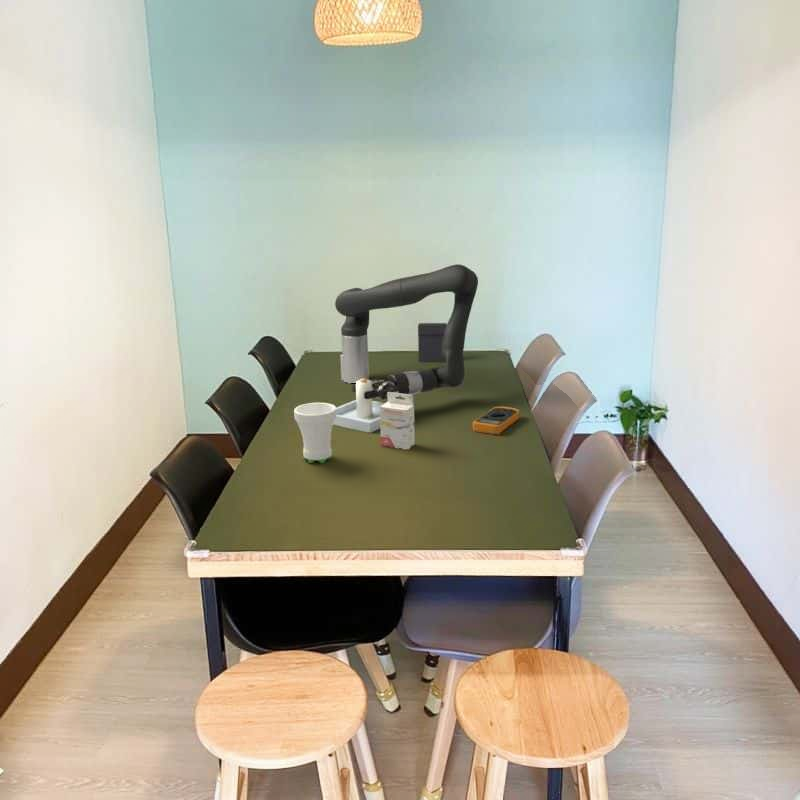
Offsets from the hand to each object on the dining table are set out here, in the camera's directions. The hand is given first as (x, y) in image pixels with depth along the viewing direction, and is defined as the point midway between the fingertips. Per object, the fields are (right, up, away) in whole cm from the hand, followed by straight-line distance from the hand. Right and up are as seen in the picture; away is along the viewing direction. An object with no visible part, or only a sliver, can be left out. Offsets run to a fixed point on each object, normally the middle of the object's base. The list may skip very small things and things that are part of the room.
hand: (358, 392), depth 240 cm
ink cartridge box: (+12, -15, -19) cm, 27 cm away
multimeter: (+42, -10, -4) cm, 43 cm away
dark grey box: (+26, +13, +71) cm, 76 cm away
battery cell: (+2, -7, +3) cm, 8 cm away
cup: (-9, -18, -28) cm, 34 cm away
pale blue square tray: (+2, -8, +4) cm, 9 cm away
